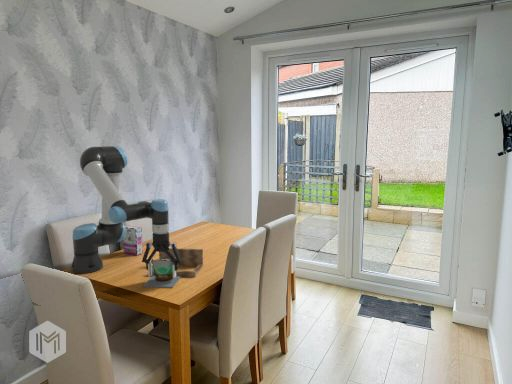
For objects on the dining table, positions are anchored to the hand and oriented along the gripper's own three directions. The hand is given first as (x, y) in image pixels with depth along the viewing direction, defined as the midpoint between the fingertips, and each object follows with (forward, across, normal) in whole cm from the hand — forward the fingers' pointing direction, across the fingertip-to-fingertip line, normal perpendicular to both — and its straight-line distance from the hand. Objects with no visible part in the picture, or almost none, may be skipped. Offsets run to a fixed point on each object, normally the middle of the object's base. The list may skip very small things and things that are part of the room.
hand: (162, 276), depth 171 cm
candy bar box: (+3, -33, +42) cm, 53 cm away
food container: (+2, +1, 0) cm, 2 cm away
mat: (+3, 0, 0) cm, 3 cm away
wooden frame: (+3, +2, +16) cm, 16 cm away
